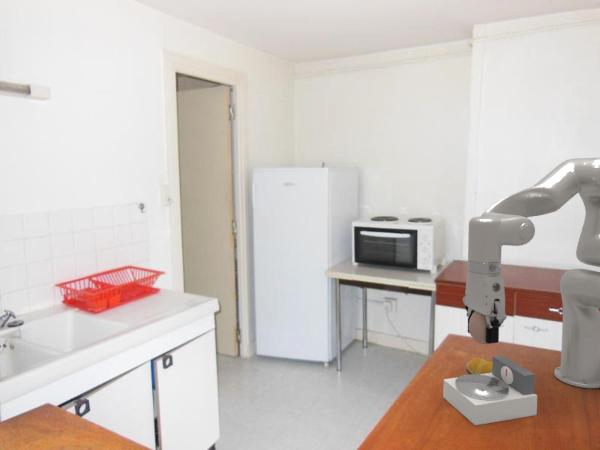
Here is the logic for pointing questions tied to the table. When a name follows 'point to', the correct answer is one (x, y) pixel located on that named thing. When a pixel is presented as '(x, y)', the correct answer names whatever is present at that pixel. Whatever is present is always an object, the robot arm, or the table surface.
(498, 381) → the scale pan
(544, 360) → the table surface
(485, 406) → the kitchen scale
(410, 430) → the table surface
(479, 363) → the bread roll
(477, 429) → the table surface
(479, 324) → the egg
